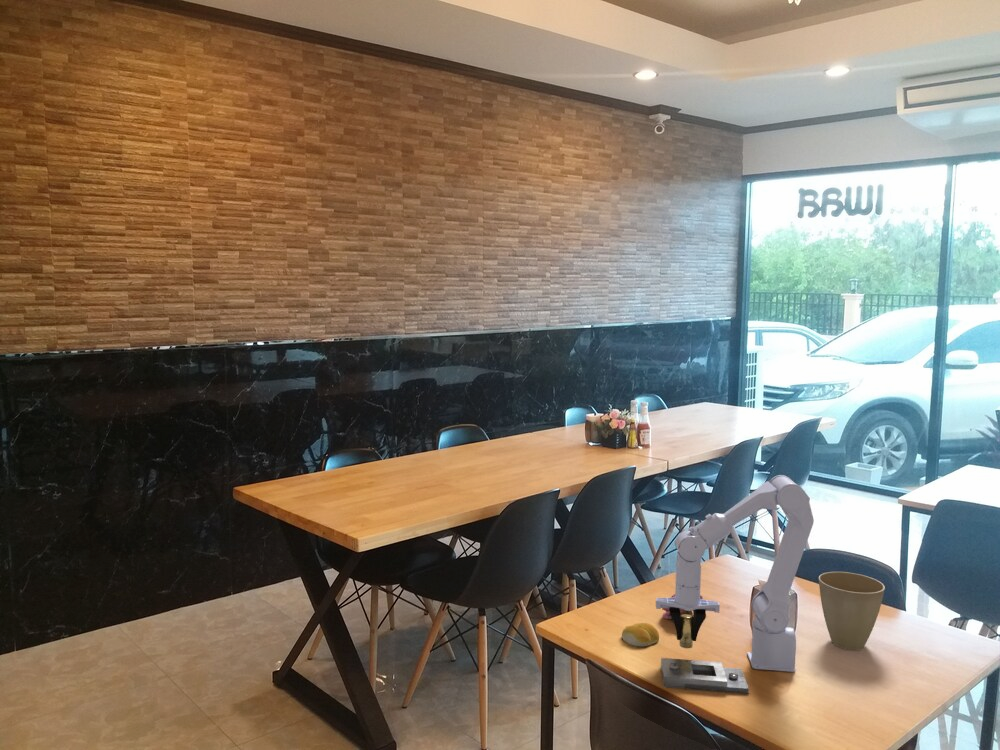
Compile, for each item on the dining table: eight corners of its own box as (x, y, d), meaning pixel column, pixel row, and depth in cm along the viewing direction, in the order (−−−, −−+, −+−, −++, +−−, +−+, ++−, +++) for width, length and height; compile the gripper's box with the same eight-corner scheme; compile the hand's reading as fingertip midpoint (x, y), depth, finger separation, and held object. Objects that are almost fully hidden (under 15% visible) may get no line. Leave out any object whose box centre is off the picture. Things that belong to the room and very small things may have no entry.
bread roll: (665, 641, 191) (665, 626, 191) (639, 650, 186) (640, 634, 186) (641, 629, 198) (641, 614, 198) (615, 638, 193) (616, 622, 192)
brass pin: (691, 643, 183) (692, 614, 182) (693, 648, 180) (694, 620, 179) (678, 642, 183) (679, 614, 182) (680, 647, 180) (681, 619, 179)
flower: (657, 630, 205) (652, 592, 210) (692, 630, 207) (686, 592, 212) (675, 620, 195) (669, 581, 200) (711, 620, 197) (704, 582, 202)
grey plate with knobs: (741, 673, 175) (741, 661, 174) (748, 694, 166) (749, 680, 165) (660, 667, 177) (661, 655, 177) (663, 687, 168) (664, 674, 168)
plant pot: (894, 653, 186) (899, 589, 184) (845, 661, 182) (849, 596, 180) (849, 627, 200) (853, 568, 199) (802, 634, 196) (805, 574, 194)
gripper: (657, 587, 177) (656, 644, 178) (722, 591, 175) (720, 648, 176) (655, 576, 184) (654, 631, 185) (718, 580, 182) (715, 635, 183)
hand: (686, 638), depth 181 cm, fingers closed on brass pin, 3 cm apart
